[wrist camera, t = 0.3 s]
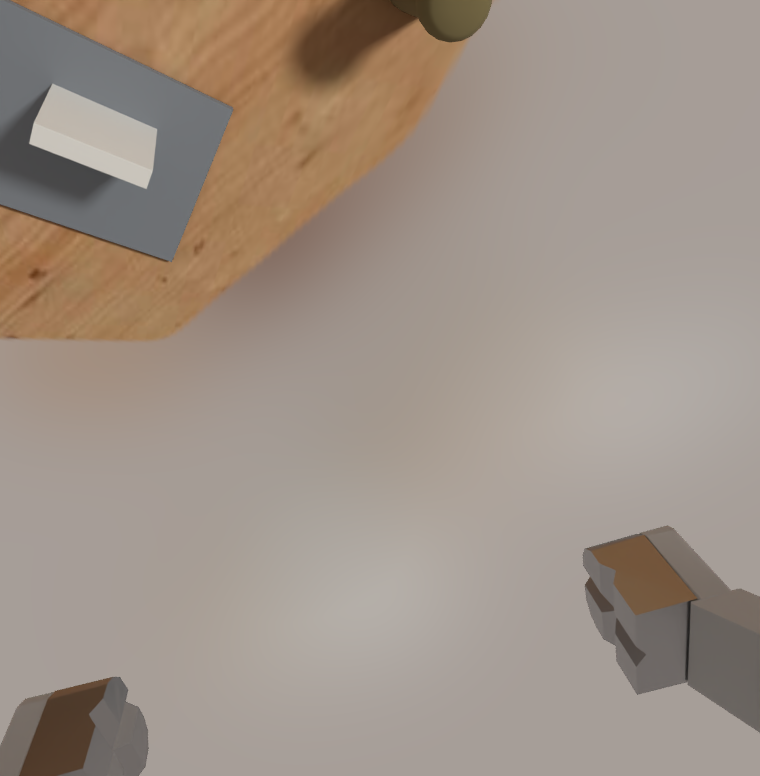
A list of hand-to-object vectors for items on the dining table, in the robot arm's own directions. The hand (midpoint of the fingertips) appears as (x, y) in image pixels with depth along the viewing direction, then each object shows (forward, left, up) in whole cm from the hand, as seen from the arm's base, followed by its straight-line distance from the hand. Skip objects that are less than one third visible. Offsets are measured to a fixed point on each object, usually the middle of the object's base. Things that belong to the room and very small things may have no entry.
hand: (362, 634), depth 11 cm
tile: (+13, -6, -50) cm, 53 cm away
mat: (+16, -6, -51) cm, 54 cm away
